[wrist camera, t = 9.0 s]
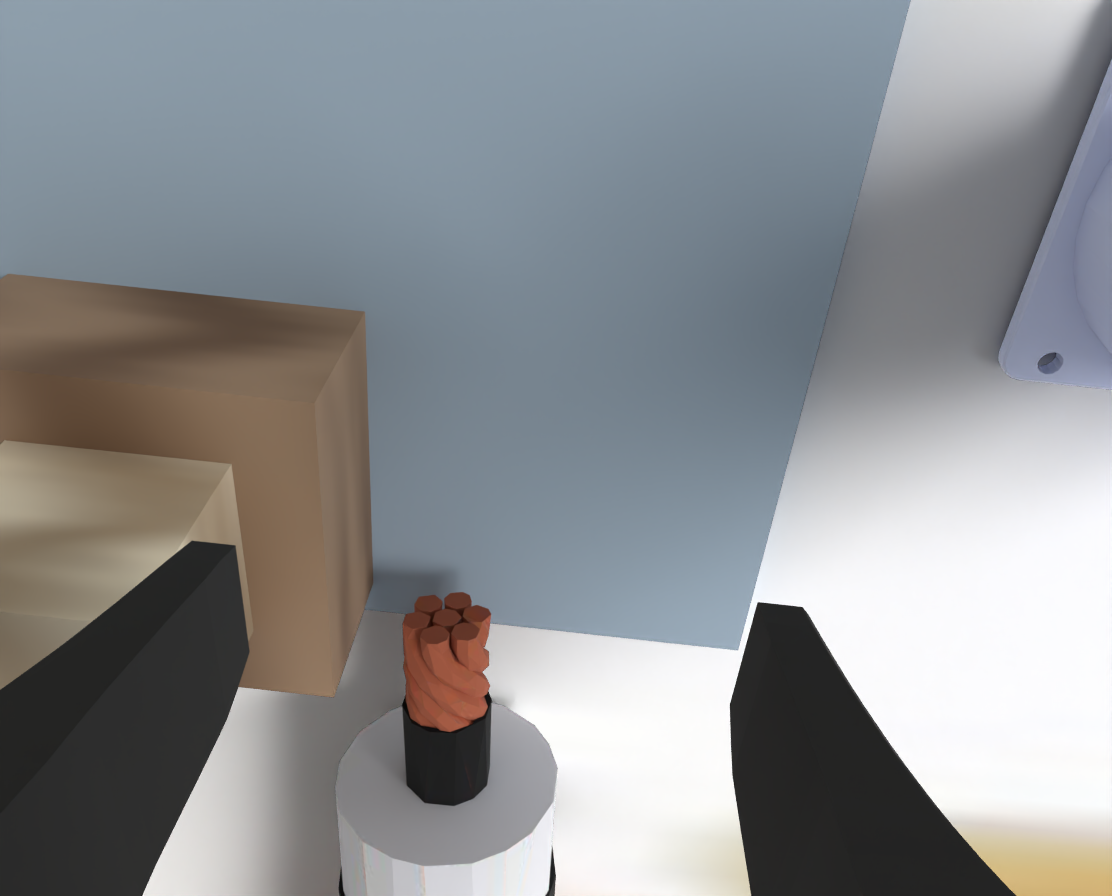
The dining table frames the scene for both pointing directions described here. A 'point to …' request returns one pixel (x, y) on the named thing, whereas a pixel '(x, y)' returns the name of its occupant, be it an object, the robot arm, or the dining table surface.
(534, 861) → the cable
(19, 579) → the maple cube
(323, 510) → the walnut base
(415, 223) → the mat
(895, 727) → the dining table surface
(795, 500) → the dining table surface
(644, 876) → the dining table surface
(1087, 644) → the dining table surface
